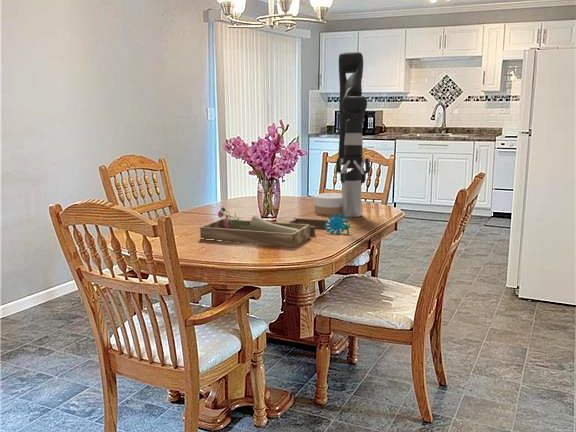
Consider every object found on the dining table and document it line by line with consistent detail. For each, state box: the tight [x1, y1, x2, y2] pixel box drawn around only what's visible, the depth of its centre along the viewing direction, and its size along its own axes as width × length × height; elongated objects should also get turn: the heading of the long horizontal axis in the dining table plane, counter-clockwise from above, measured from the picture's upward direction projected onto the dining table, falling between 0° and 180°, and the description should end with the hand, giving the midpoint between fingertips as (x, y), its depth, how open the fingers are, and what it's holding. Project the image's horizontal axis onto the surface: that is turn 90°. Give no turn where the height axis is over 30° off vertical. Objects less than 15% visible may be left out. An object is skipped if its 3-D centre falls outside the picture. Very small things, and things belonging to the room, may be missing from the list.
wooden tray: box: [199, 218, 311, 248], centre depth 230 cm, size 18×40×5 cm, turn 68°
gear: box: [324, 214, 351, 235], centre depth 239 cm, size 11×6×10 cm
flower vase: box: [217, 206, 299, 233], centre depth 231 cm, size 12×12×35 cm
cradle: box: [285, 217, 327, 236], centre depth 243 cm, size 16×14×4 cm
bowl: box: [314, 192, 342, 216], centre depth 285 cm, size 17×17×8 cm
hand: (352, 183), depth 243 cm, fingers open, 8 cm apart
